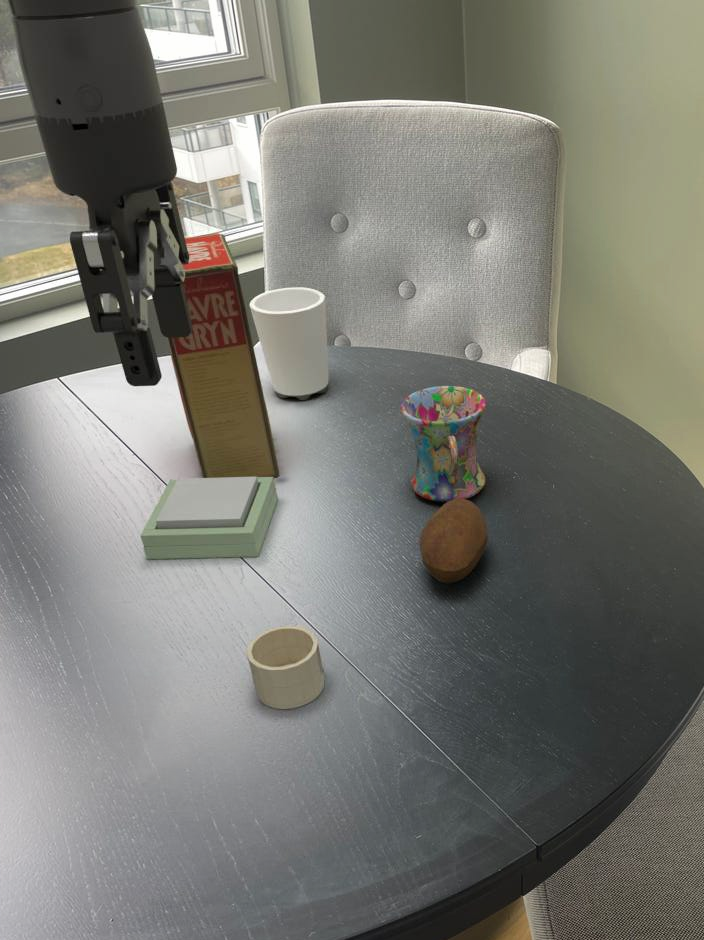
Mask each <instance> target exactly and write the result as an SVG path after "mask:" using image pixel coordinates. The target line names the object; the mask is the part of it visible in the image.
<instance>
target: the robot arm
mask: <svg viewBox="0 0 704 940" xmlns="http://www.w3.org/2000/svg"><path fill="white" fill-rule="evenodd" d="M5 2H6V5H7V8H8V13H9V15H11V17H10V21H11V25H12V29H13V34H14V39H15V40H14V41H15V44H16V45H15V46H16V52H17V57H18V63H19V66H20V71H21V74H22V78H23V80H24V81H23V82H24V84H25V87H26V90H27V94H28V98H29V101H30V104H31V108H32V111H33V115H34V118H35V121H36V125H37V129H38V132H39V135H40V139H41V142H42V146H43V149H44V154H45V157H46V160H47V164H48V167H49V171H50V174H51V177H52V180H53V183H54V186H55V187H56V189H57V190H58V191H60V192H61V193H63V194H65V195H67V196H71V197H72V196H73V197H74V196H76V197H78V198H80V199H81V200H83V201H84V202H85V204H86V206H87V208H86V209H87V214H88V221H89V226H88V230H81V231H79V230H78V231H71V232H70V234H69V244H70V247H71V251H72V254H73V259H74V262H75V266H76V270H77V273H78V277H79V281H80V285H81V288H82V292H83V296H84V300H85V303H86V308H87V311H88V315H89V319H90V322H91V326H92V329H93V331H94V333H95V334H105V333H106V334H107V333H112V335H113V339H114V341H115V345H116V348H117V352H118V356H119V359H120V362H121V367H122V370H123V373H124V378H125V380H126V383H127V384H128V385H130V386H132V387H155V386H157V385H158V384H159V383H160V381H161V379H162V377H163V375H162V370H161V368H160V364H159V359H158V356H157V351H156V347H155V344H154V340H153V336H152V332H151V328H150V327H149V312H148V311H149V310H148V309H149V308H148V299H149V297H152V302H153V306H154V310H155V313H156V319H157V321H158V326H159V330H160V333H161V334H162V336H163V337H164V338H166V337H167V338H174V337H188V336H189V335H190V333H191V332H192V330H193V327H192V322H191V318H190V313H189V309H188V305H187V300H186V296H185V291H184V287H183V283H180V282H184V280H185V270H184V268H183V265H187V264H188V263H189V252H188V249H187V245H186V241H185V238H186V237H185V232H184V229H183V226H182V221H181V216H180V212H179V207H178V204H177V199H176V196H175V191H174V185H173V183H172V181H173V180H174V179H175V178H176V176H177V174H178V166H177V162H176V157H175V152H174V148H173V144H172V140H171V135H170V134H171V133H170V129H169V126H168V125H169V124H168V120H167V116H166V110H165V106H164V102H163V96H162V92H161V87H160V83H159V78H158V73H157V69H156V65H155V60H154V55H153V51H152V48H151V45H150V42H149V38H148V36H147V32H146V30H145V26H144V24H143V20H142V17H141V15H140V14H141V13H140V10H139V7H138V1H137V0H5ZM154 283H155V284H154ZM101 295H102V297H101ZM167 338H166V339H167Z"/></svg>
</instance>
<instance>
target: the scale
mask: <svg viewBox="0 0 704 940" xmlns="http://www.w3.org/2000/svg"><path fill="white" fill-rule="evenodd" d="M257 480H258V485H259V488H258V490H257V493H256V496H255V498H254V501H253V503H252V506H251V509H250V511H249V514H248V516H247V519H246V522H245V524H244V527H231V528H192V529H158V527H157V523H156V519H157V518H158V516H159V514H160V512H161V510H162V508H163V506H164V504H165V502H166V500H167V498H168V497H169V495H170V493H171V491H172V489H173V487H174V485H175V483H176V481H177V479H170V480H169V482H168V483H167V485H166V487H165V488H164V491H163V492H162V494H161V496H160V498H159V500H158V502H157V503H156V506H155V507H154V509H153V511H152V513H151V514H150V517H149V519H148V521H147V522H146V524H145V526H144V528H143V530H142V532H141V533H140V539H141V543H142V547H143V551H144V555H145V558H146V560H173V559H174V560H176V559H177V560H178V559H210V558H211V559H215V558H216V559H217V558H254V557H259V555H260V553H261V549H262V546H263V544H264V542H265V541H264V540H265V538H266V535H267V532H268V529H269V526H270V524H271V521H272V518H273V515H274V512H275V509H276V506H277V504H278V500H279V496H278V491H277V487H276V483H275V478H273V477H257Z"/></svg>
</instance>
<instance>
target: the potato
mask: <svg viewBox="0 0 704 940" xmlns="http://www.w3.org/2000/svg"><path fill="white" fill-rule="evenodd" d="M487 543H488V526H487V522H486V520H485V517H484V515H483V513H482V511H481V509H480V508H479V507H478V506H477V505H476V504H475V503H474V502H472V501H471V500H469V499H463V498H462V499H453V500H451V501H448V502H444V504H443V505H442V506H441V507H440V508H438V510H436V511H435V512H434V514H432V515H431V517H430V518H429V520H428V521H427V523H426V524H425V525H424V527H423V528H422V530H421V532H420V536H419V550H420V554H421V559H422V563H423V565H424V567H425V568H426V570H427V571H428V572H429V573H430V575H431V576H433V577H434V578H435V579H437V580H438V581H440V582H441V583H442V582H443V583H446V584H449V583H455V582H459V581H461V580H463V579H464V578H466V577H467V576H468V575H469V574H470V573H471V572H472V570H473V569H474V568H475V566H476V565H477V564H478V563H479V561H480V559H481V558H482V555H483V554H484V551H485V548H486V547H487Z"/></svg>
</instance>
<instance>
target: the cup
mask: <svg viewBox="0 0 704 940" xmlns="http://www.w3.org/2000/svg"><path fill="white" fill-rule="evenodd" d="M249 308H250V312H251V315H252V320H253V322H254V325H255V330H256V333H257V336H258V340H259V343H260V346H261V351H262V354H263V357H264V361H265V364H266V368H267V372H268V375H269V378H270V381H271V385H272V388H273V390H274V391H275V393H276V394H277V396H278V397H279V398H280V399H288V398H290V397H293V398H296V399H298V401H306V400H308V399H309V398H310V397H311V396H313V395H314V394H318V395H320V394H325V392H327V389H328V385H329V381H330V379H329V359H328V337H327V335H328V333H327V312H326V310H327V309H326V308H327V307H326V296H325V294H324V293H323V292H321V291H319V290H317V289H314V288H309V287H301V286H300V287H299V286H298V287H296V286H295V287H282V288H276V289H272V290H267V291H264V292H262V293H259V294H258V295H257V296H254V298H252V300H250V302H249Z"/></svg>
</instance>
